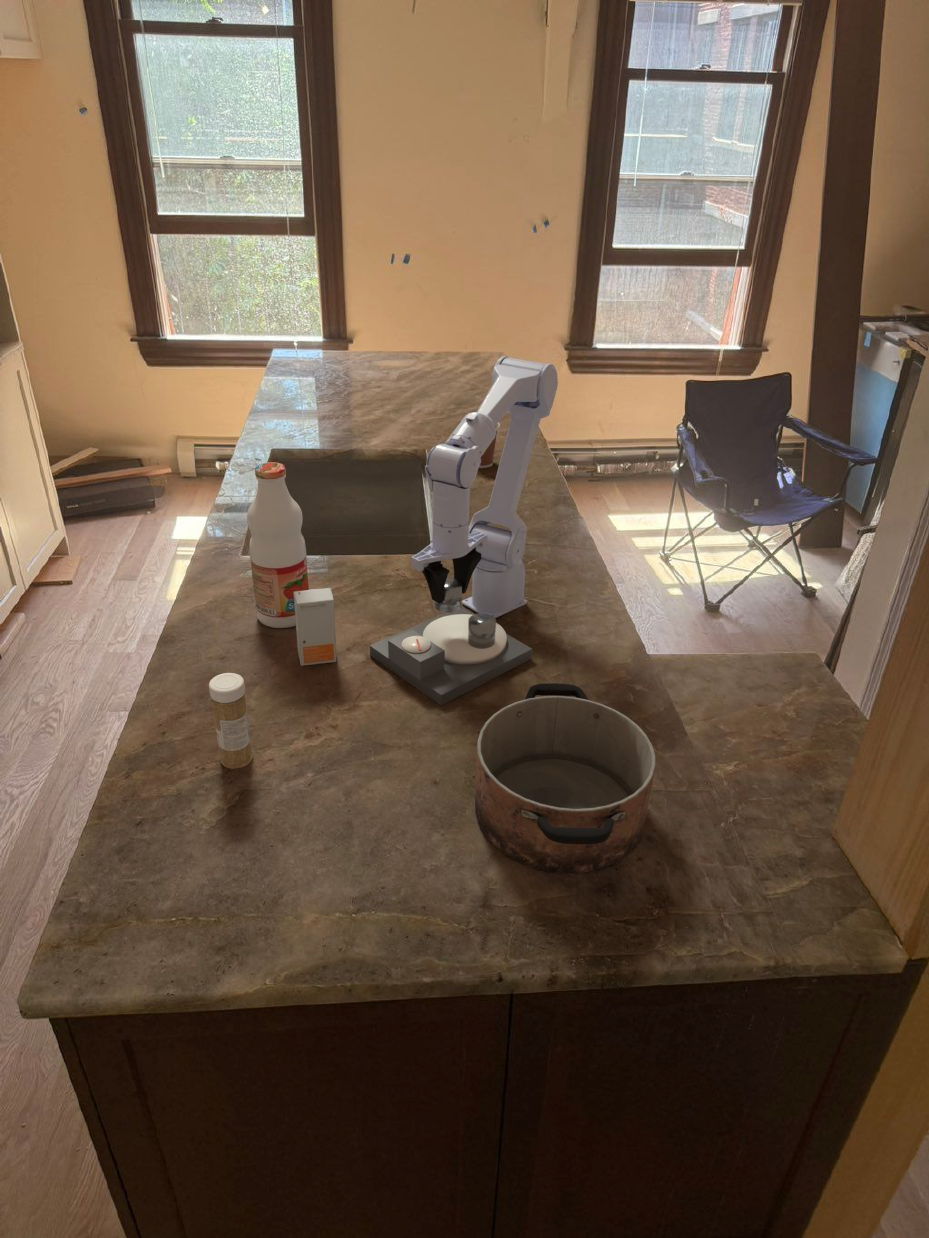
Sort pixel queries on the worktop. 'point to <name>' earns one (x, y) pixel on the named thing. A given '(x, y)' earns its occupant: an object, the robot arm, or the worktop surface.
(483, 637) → the cylinder
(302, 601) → the skincare box
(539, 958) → the worktop surface
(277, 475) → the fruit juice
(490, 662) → the kitchen scale
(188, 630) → the worktop surface
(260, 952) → the worktop surface
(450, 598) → the cylinder
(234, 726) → the sprinkles bottle
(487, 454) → the coffee cup
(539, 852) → the cooking pot
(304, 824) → the worktop surface
